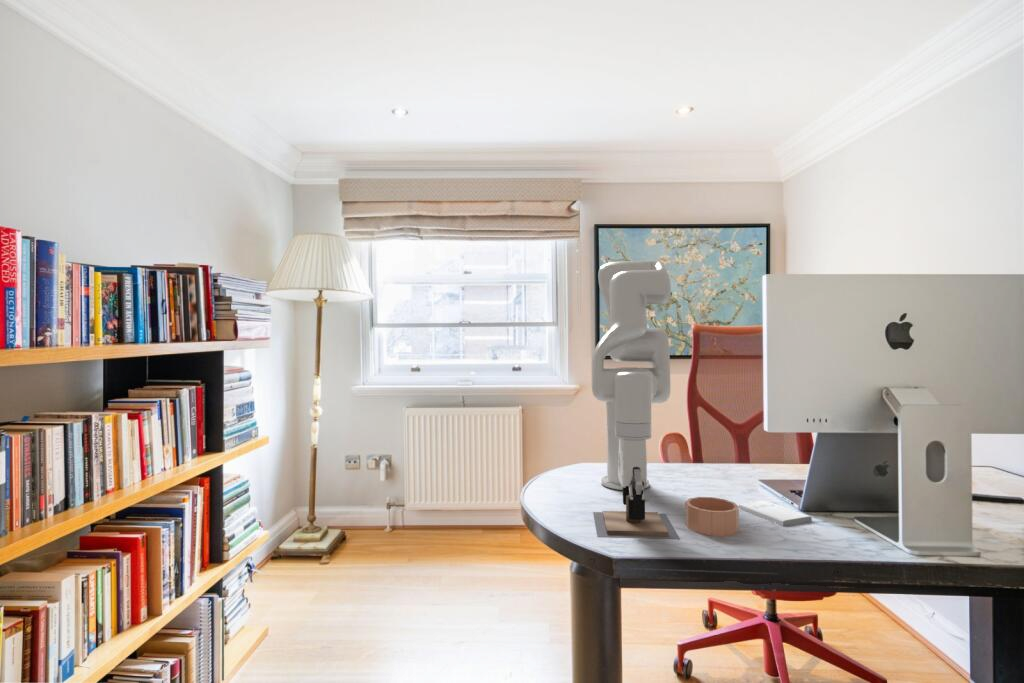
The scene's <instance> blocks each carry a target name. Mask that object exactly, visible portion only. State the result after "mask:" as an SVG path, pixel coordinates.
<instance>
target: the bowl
mask: <svg viewBox="0 0 1024 683" xmlns="http://www.w3.org/2000/svg"><path fill="white" fill-rule="evenodd" d="M739 510H740V509H739V505H738V504H737V503H736V502H733V501H731V500H728V499H725V498H720V497H719V498H718V497H714V496H713V497H712V496H696V497H690V498H688V499H687V500H686V501H685V526H687V528H688V530H691V531H692V532H696V533H697V534H701V535H702V534H703V535H707V536H711V537H715V536H716V537H729V536H733V535H736V534H737V533H738V532H739V530H740V527H739V526H740V519H739V518H740V517H739V516H740V514H739V513H740V512H739Z"/></svg>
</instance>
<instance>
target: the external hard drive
mask: <svg viewBox="0 0 1024 683" xmlns="http://www.w3.org/2000/svg"><path fill="white" fill-rule="evenodd" d="M738 507H739V510H741V509H742V511H744V512H747V513H749V514H752V515H754V516H757V517H759V516H760V518H761V519H764V518H765V520H767V519H768V520H767V521H769V520H770V522H772V521H773V522H772V523H774V522H776V523H775V524H777V523H778V524H777V525H779V524H780V526H782V525H783V526H782V527H785V526H784V525H786V526H791V525H790V524H792V525H797V524H796V523H798V524H804V523H809V521H810V522H812V521H813V520H812V519H813V517H812V516H811V515H807V514H805V513H803V512H799V511H796V510H793V509H791V508H788V507H785V506H781V505H779V504H778V503H777V504H776V503H773V502H770V501H768V500H763V499H762V500H757V501H750V502H744V503H743V502H742V503H739V504H738ZM803 522H804V523H803Z"/></svg>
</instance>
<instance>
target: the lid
mask: <svg viewBox="0 0 1024 683" xmlns="http://www.w3.org/2000/svg"><path fill="white" fill-rule="evenodd" d="M628 499H630V495H628V496H626V505H625V511H622V510H621V511H618V510H602V514H603V519H604V523H605V528H606V532H607V534H614V535H649V536H668V531H667V529H666V527H665V525H664V523H663V521H662V520H661V518H660V516H659V514H660V513H659V512H656V511H645V519H644V520H630V519H629V517H628Z"/></svg>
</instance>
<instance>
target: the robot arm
mask: <svg viewBox="0 0 1024 683" xmlns="http://www.w3.org/2000/svg"><path fill="white" fill-rule="evenodd" d="M597 276H598V277H597V278H598V279H597V280H598V286H599V291H600V293H601V296H602V300H603V301H604V304H605V307H606V310H607V324H608V326H607V330H608V331H606V333H605V334H604V335H603V336H602V337H601V339H600V340H599V341H598V343H597V344H596V347H595V348H594V351H593V354H592V357H591V391H592V395H593V396H594V398H595V399H596V400H597V401H599V402H605V405H606V449H607V450H606V460H607V462H606V467H607V468H606V469H607V470H606V471H607V472H606V474H607V475H605V476H603V477H602V478H601V484H602V485H603V486H604V487H606V488H608V489H613V490H617V491H618V490H619V491H620V490H621V491H622V503H623V505H624V506H626V496H628V495H630V499H628V517H629V519H630V520H644V519H645V512H646V500H645V491H644V490H645V489H647V488H649V486H650V481H649V480H648V479H647V478H648V474H647V473H648V470H647V469H648V468H647V467H648V465H647V464H648V462H647V460H648V459H647V458H648V456H647V450H648V449H647V440H651V439H652V404H662V403H663V404H664V403H665V402H667V401H668V400H669V398H670V395H671V365H670V364H671V361H670V355H671V354H670V342H669V336H668V333H667V332H666V331H665V330H664V329H662V328H661V327H648V323H647V306H646V305H664V304H667V303H668V302H669V300H670V298H671V297H670V296H671V293H672V291H671V290H672V289H671V288H672V284H671V283H672V282H671V278H670V275H669V272H668V270H667V268H666V265H665V264H664V263H663V262H662V261H660V260H626V261H625V260H624V261H623V260H621V261H620V260H619V261H612V262H610V261H609V262H607V263H604V264H603V265H601V266H600V267H599V269H598V274H597ZM608 354H609V357H610V359H611V360H612V361H614V362H618V363H640V364H641V363H646V364H647V363H648V364H650V365H651V367H631V366H627V367H623V366H622V367H614V368H610V367H609V368H605V367H604V366H605V365H604V363H605V358H606V357H607V356H608Z"/></svg>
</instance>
